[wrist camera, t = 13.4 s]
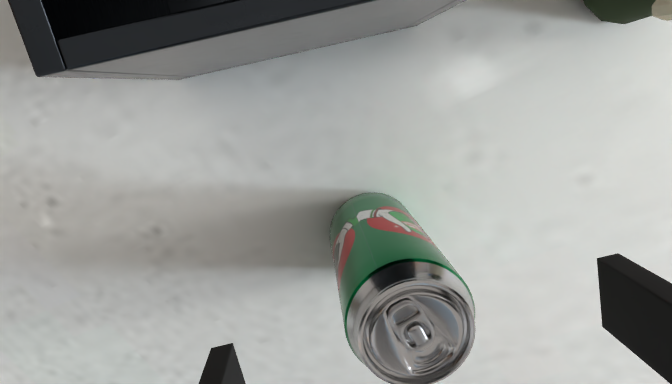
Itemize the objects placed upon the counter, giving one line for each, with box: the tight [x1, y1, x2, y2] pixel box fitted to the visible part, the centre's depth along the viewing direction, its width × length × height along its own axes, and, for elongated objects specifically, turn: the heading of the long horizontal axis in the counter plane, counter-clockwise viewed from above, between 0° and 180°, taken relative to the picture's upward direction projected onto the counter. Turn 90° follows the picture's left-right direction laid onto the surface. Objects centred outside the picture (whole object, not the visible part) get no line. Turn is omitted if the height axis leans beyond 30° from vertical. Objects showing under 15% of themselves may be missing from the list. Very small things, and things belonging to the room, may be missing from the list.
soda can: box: [330, 193, 475, 384], centre depth 22 cm, size 5×5×12 cm
